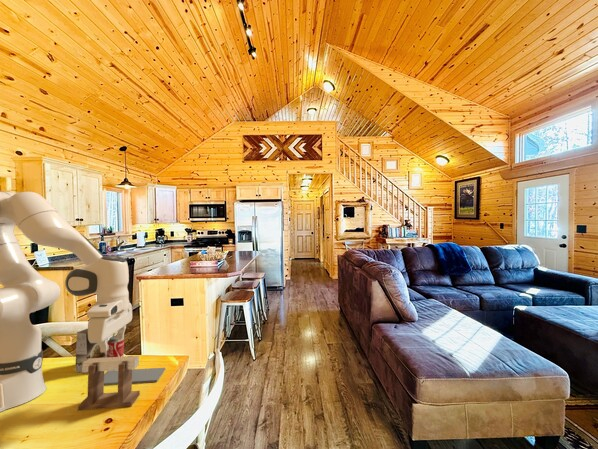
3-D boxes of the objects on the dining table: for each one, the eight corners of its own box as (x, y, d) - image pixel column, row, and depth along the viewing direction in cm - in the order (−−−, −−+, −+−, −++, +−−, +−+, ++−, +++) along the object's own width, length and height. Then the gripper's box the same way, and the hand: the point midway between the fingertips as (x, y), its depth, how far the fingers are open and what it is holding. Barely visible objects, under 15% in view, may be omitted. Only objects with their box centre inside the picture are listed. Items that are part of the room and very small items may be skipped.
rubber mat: (93, 386, 97) (93, 383, 97) (107, 372, 106) (107, 370, 106) (156, 382, 100) (156, 379, 100) (165, 369, 109) (165, 367, 109)
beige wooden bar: (82, 372, 86) (82, 362, 86) (88, 367, 89) (88, 358, 89) (134, 369, 88) (134, 360, 88) (138, 364, 91) (138, 355, 91)
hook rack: (77, 410, 84) (79, 366, 85) (89, 398, 90) (91, 357, 90) (131, 406, 87) (132, 364, 87) (139, 394, 93) (140, 355, 93)
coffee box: (87, 374, 105) (88, 333, 105) (74, 371, 106) (75, 332, 107) (108, 362, 114) (109, 325, 114) (96, 360, 115) (97, 324, 116)
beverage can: (103, 369, 108) (104, 340, 108) (111, 362, 114) (112, 335, 114) (118, 369, 109) (119, 340, 109) (126, 362, 115) (126, 334, 115)
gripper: (119, 296, 99) (119, 333, 99) (83, 314, 79) (82, 360, 78) (137, 295, 100) (137, 332, 100) (106, 313, 80) (105, 358, 79)
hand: (112, 344), depth 89 cm, fingers open, 8 cm apart
